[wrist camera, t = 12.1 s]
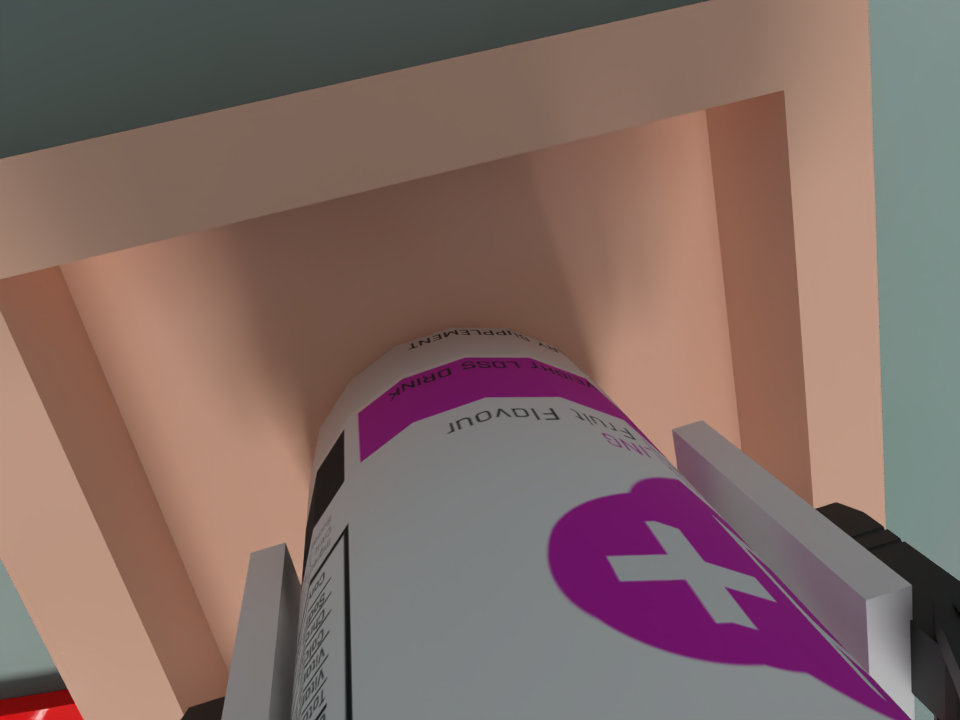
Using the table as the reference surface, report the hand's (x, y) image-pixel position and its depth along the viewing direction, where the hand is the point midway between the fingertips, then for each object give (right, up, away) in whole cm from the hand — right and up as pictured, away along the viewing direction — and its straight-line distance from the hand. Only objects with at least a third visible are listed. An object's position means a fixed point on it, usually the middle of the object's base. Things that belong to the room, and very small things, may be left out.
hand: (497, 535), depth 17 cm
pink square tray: (-1, +1, +5) cm, 5 cm away
